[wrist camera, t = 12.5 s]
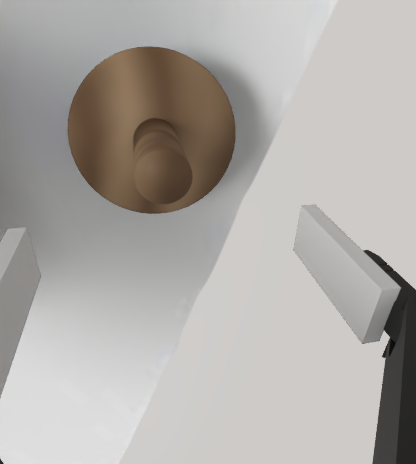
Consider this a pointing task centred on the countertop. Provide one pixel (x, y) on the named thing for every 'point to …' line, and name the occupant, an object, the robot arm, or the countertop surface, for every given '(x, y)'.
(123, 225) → the countertop surface
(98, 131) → the lid
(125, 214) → the countertop surface
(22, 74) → the countertop surface
